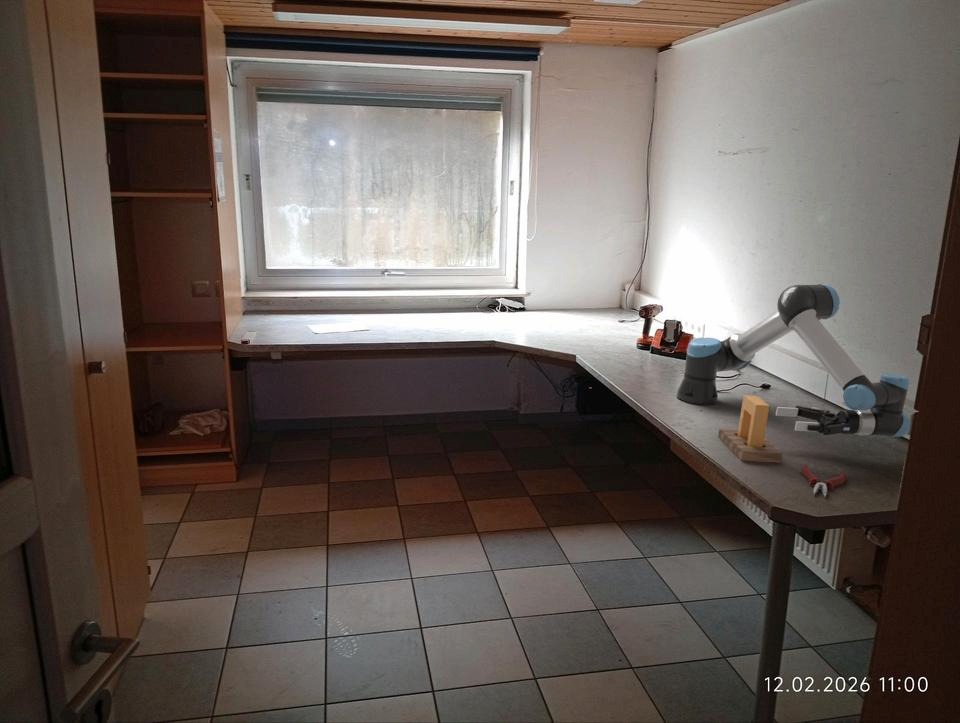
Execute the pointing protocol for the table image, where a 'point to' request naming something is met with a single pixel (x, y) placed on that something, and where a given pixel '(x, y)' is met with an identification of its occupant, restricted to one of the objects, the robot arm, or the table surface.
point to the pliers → (826, 483)
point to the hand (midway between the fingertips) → (785, 418)
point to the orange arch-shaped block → (753, 420)
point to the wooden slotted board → (749, 453)
